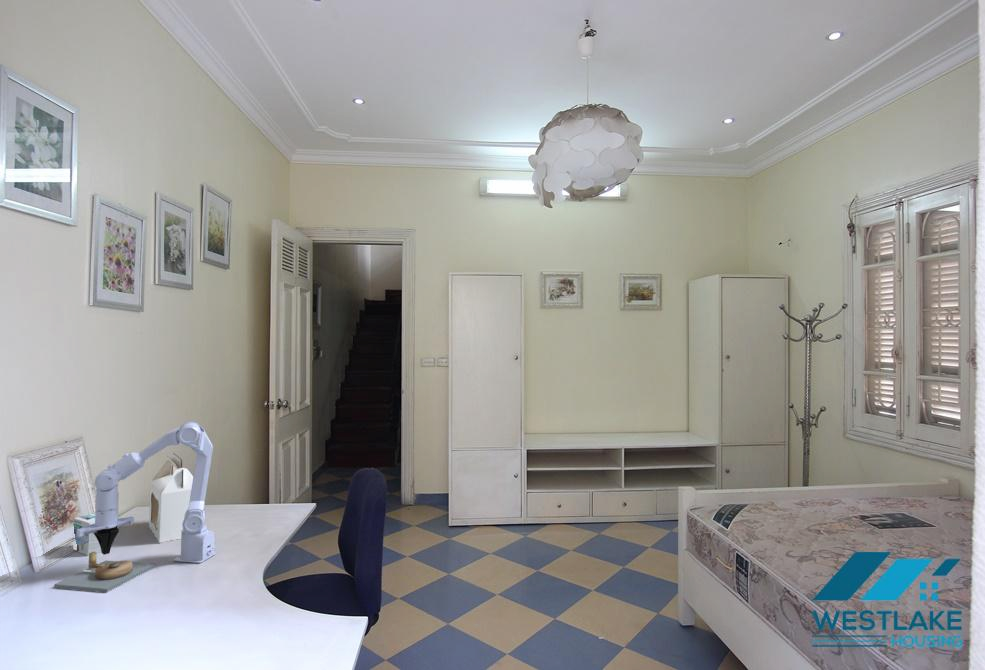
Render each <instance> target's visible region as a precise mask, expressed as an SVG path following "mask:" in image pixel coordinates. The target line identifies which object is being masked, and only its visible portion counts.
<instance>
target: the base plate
mask: <svg viewBox="0 0 985 670" xmlns="http://www.w3.org/2000/svg"><path fill="white" fill-rule="evenodd" d="M116 561H117V560H104V561H102V562H100V563H98V564H107V563H111V562H116ZM154 568H155V564H153V563H143V562H141V563H140V562H132V571H131V572H130V573H128V574H126V575H124V576H121V577H118V578H114V579H106V580H101V579H97V578H95V570H96V568H89V567H88V568H87V569H84V570H82V571H79V572H78V573H76V574H73V575H72V576H69V577H67V578H65V579H63V580H60V581H58V582H55V583H54V585H53V588H54V587H57V588H56V589H62V588H67V589H66V590H73V589H76V590H77V591H84V590H87V592H95V591H98V593H106V592H107V593H109V592H111V591H113V590H115V589H116V588H118V587H120V586H122V585H124V584H126V583H128V582H130V581H131V580H130V579H132V578H133V579H135V578H137V577H138V575H139V576H141V575H143V574H145V573H147V572H149V571H150V570H152V569H154ZM148 570H149V571H148ZM146 571H147V572H146ZM144 572H145V573H144ZM142 573H143V574H142ZM140 574H141V575H140ZM136 576H137V577H136ZM134 577H135V578H134ZM133 579H132V580H133ZM129 580H130V581H129ZM127 581H128V582H127ZM125 582H126V583H125ZM123 583H124V584H123ZM121 584H122V585H121ZM119 585H120V586H119ZM117 586H118V587H117ZM115 587H116V588H115ZM114 588H115V589H114ZM112 589H113V590H112ZM110 590H111V591H110ZM108 591H109V592H108Z"/></svg>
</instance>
